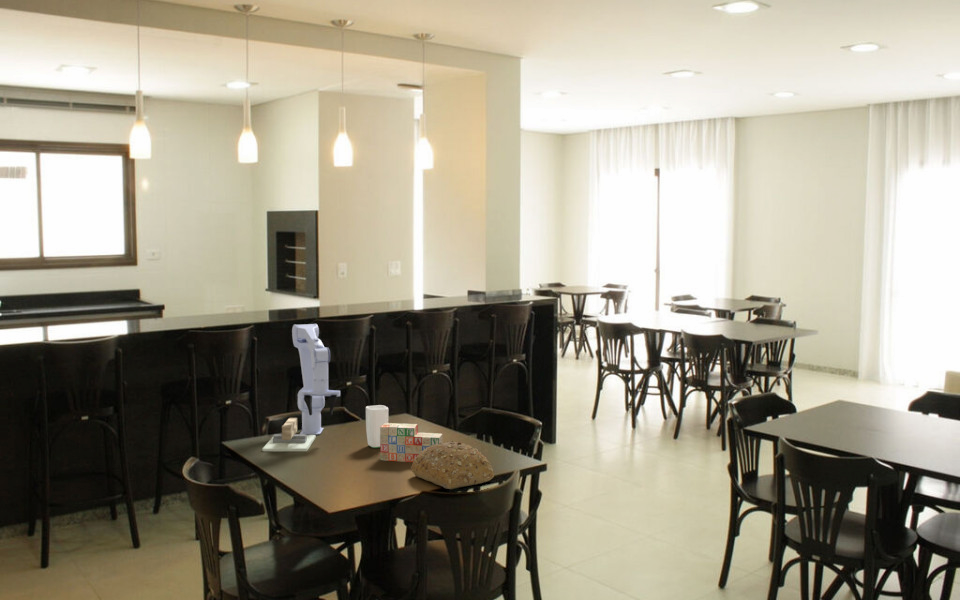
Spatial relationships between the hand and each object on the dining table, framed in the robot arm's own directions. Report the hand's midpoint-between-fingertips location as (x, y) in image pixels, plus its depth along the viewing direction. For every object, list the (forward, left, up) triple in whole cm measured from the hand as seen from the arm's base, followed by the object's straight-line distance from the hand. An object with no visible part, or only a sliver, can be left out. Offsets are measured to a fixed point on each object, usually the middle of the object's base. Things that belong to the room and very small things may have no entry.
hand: (320, 414), depth 309 cm
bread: (+47, +50, -11) cm, 70 cm away
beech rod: (+4, -11, -7) cm, 14 cm away
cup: (+7, +22, -11) cm, 25 cm away
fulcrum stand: (+4, -11, -10) cm, 16 cm away
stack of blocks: (+24, +36, -11) cm, 45 cm away
